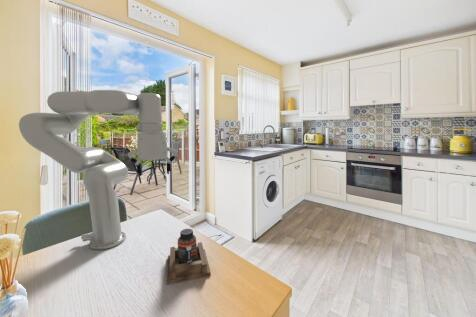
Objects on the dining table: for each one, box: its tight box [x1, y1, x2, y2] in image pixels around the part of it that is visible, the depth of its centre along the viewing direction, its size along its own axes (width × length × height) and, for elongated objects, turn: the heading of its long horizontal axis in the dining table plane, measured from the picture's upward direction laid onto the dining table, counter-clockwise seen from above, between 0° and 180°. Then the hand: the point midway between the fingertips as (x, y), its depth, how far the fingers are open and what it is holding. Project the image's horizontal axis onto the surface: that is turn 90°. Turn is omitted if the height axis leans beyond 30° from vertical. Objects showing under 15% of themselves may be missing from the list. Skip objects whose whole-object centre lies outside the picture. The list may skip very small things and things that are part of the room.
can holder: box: [166, 241, 212, 285], centre depth 69 cm, size 13×13×4 cm
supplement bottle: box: [177, 228, 197, 264], centre depth 69 cm, size 6×6×11 cm
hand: (154, 174), depth 79 cm, fingers open, 9 cm apart
